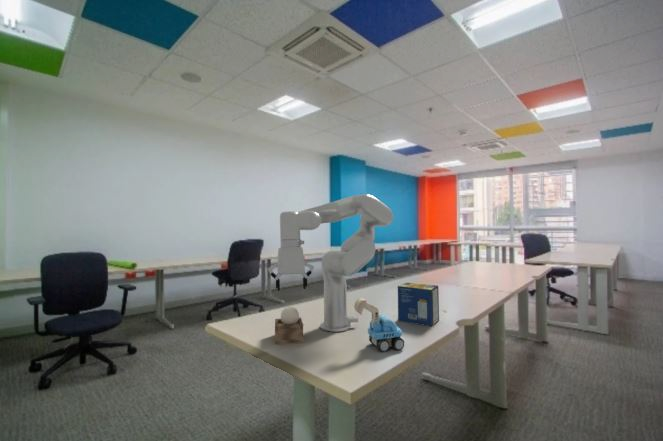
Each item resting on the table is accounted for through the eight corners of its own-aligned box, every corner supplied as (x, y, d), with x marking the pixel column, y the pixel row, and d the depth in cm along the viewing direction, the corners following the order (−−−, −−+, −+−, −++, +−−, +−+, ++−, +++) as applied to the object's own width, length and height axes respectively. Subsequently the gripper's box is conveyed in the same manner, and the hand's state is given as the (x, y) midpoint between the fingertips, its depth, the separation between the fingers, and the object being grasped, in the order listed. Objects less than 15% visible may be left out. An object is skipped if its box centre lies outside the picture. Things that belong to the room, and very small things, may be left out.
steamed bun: (298, 322, 119) (299, 305, 120) (298, 327, 112) (299, 308, 113) (281, 322, 118) (281, 305, 119) (280, 327, 111) (280, 309, 112)
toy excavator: (351, 346, 107) (350, 296, 108) (394, 340, 112) (393, 293, 112) (360, 355, 99) (359, 302, 99) (406, 349, 103) (405, 298, 104)
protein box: (406, 315, 145) (406, 282, 146) (439, 320, 136) (438, 285, 137) (397, 320, 137) (396, 285, 137) (432, 326, 128) (431, 289, 128)
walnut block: (301, 334, 120) (301, 317, 121) (303, 343, 111) (303, 325, 111) (275, 335, 119) (275, 318, 119) (275, 345, 109) (275, 326, 109)
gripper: (312, 242, 122) (313, 286, 121) (267, 244, 119) (268, 288, 118) (314, 243, 114) (315, 289, 114) (267, 245, 111) (268, 292, 111)
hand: (291, 289), depth 116 cm, fingers open, 9 cm apart
